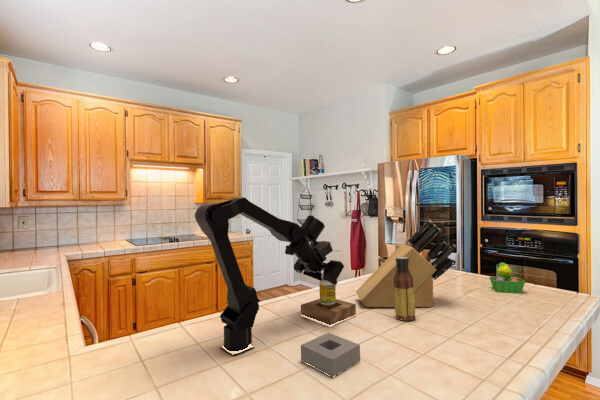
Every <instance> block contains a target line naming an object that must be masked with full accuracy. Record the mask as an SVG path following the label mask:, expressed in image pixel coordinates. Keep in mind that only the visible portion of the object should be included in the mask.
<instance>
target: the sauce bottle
mask: <svg viewBox="0 0 600 400" xmlns="http://www.w3.org/2000/svg"><path fill="white" fill-rule="evenodd" d="M408 262H409V258H408V257H396V264H397V269H396V270H397V271H396V274H395V276H394V299H395V307H394V310H395V311H394V312H395V317H396V318H397V319H398V318H399V319H398V320H400V319H402V320H401V321H404V320H408V321H407V322H410V321H409V320H412V321H414V320H415V319H416V307H415V298H414V286H413V277H412V275H411V274H410V272H409V267H408Z"/></svg>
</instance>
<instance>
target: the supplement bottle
mask: <svg viewBox="0 0 600 400" xmlns="http://www.w3.org/2000/svg"><path fill="white" fill-rule="evenodd" d="M323 277H324V276H323V273H322V274H321V278H322V280H321V281H320V280H319V299H320V303H321V304H323V305H333V304H335V302H336V299H337V298H336V297H337V296H336V294H337V293H336V291H337V290H336V289H337V287H336V285H337V284H336V285H334V284H332V283H330V282H328V281H325V280H323Z"/></svg>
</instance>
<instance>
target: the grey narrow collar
mask: <svg viewBox="0 0 600 400" xmlns="http://www.w3.org/2000/svg"><path fill="white" fill-rule="evenodd" d="M301 360H302V361H304V362H306V363H308V364H310V365H312V366H314V367H315V368H317V369H319V370H321V371H323V372H325V373H327V374H328V375H330V376H332V377H333V376H335V375H337V374H338V373H340V372H342V371H344V370H345V369H347V368H349V367H350V366H352V365H354V364H355V363H357V362H358V361H360V362H361V344H359V343H357V342H354V341H351V340H349V339H346V338H343V337H341V336H339V335H336V334H333V333H330V332H326V333H324V334H322V335H320V336H318V337H315V338H313V339H311V340H309V341H306V342H304V343H302V344H300V361H301ZM358 363H359V362H358ZM358 363H357V364H358ZM355 365H356V364H355ZM355 365H354V366H355ZM352 367H353V366H352ZM350 368H351V367H350ZM350 368H349V369H350ZM347 370H348V369H347ZM345 371H346V370H345ZM345 371H344V372H345ZM342 373H343V372H342ZM328 375H327V376H328ZM330 376H329V377H330ZM337 376H338V375H337ZM332 377H331V378H332Z"/></svg>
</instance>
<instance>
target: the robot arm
mask: <svg viewBox="0 0 600 400" xmlns="http://www.w3.org/2000/svg"><path fill="white" fill-rule="evenodd" d="M238 215H241V216H242V217H245V218H246V219H248V220H250V221H251V222H253V223H256V224H257V225H259V226H261V227H263V228H265V229H266V230H268V231H269V232H270V233H271V236H273V237H274V238H276V239H277V240H278V241H280V242H286V243H289V244H288V245H285V250H284V254H285V255H289V256H294V255H295V256H296V258H297V260H296V261H295V263H294V264H293V270H294V271H295V272H296V273H299V274H303V276H306V277H309V278H312V279H315V280H318V281H319V282H320V281H321V280H322V278H321V274H323V276H324V277H323V280H325V281H328V282H330V283H332V284H334V285H337V284H338V278H339V277H340V275H341V273H342V271H343V270H344V268H345V264H343V262H342V261H340V260H334V259H332V260H329V261H328V262H325V261H327V257H326V256H327V255H329V254H330V253H332V252H333V251H334V250H333V247H332V244H331V242H330V241H325V240H321V241H320V240H319V241H318V238H319V237H320V236H321V234H322V232H323V231H324V230H325V228H326V227H325V226H326V225H325V223H324V222H323V221H321V220H320V219H319V218H316V217H315V216H314V215H308V216H307V217H306V218H305V220H304V222H303V223H302V224H301V226H300V225H299V224H298V223H295V222H292V221H290V220H286V219H282V218H279V217H278V216H275V215H273V214H272V213H270V212H268V211H267V210H265V209H264V208H263V207H260V206H259V205H256V204H255V203H253V202H251V201H250V200H249V199H247V198H246V197H242V196H241V197H232V198H231V199H228V200H226V201H222V202H218V203H206V204H205V203H204V204H201V205H200V206H199V207H198V208H197V209H196V210H195V213H194V218H195V221H196V223H197V225H198V227H199V228H200V230H201V232H203V234H204V235H205V236H206V237H207V239H208V240H209V241H210V244H211V247H212V249H213V251H214V255H215V257H216V260H217V264H218V266H219V268H220V272H221V274H222V276H223V280H224V282H225V285H226V289H227V293H226V300H227V301H226V302H227V306H226V307H225V308H224V310H223V311H222V312H221V314H220V315H219V318H220V320H221V323H223V324H225V325H224V326H223V345H224V347H225V348H226V349H227V350H229V351H239V350H243V349H245V348H247V347H248V345H249V344H252V343H253V339H252V338H253V335H252V333H253V331H252V328H253V327H254V324H255V321H256V317H257V314H258V312H259V310H260V305H259V303H260V302H261V300H260V299H259V298H258V295H257V290H256V288H255V287H252V286H250V285H247V284H246V283H245V280H244V278H243V277H244V276H243V274H242V271H241V268H240V265H239V263H238V261H237V257H236V255H235V254H236V253H235V251H234V248H233V246H232V243H231V240H230V237H229V228H230V224H229V223H230V222H229V220H230V219H233V218H235V217H237V216H238ZM322 272H323V273H322Z"/></svg>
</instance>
